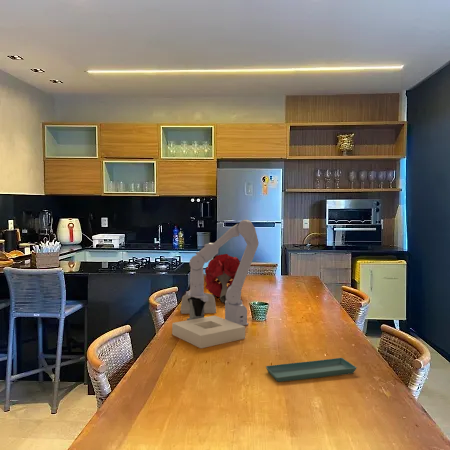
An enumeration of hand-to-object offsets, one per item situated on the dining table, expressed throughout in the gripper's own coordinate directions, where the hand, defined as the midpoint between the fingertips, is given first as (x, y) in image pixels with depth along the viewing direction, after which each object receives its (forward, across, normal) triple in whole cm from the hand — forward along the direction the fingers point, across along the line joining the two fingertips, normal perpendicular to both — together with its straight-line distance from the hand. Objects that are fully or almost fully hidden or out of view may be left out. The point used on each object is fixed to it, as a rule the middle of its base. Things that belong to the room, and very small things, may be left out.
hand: (196, 315), depth 192 cm
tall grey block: (+3, 0, 0) cm, 3 cm away
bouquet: (+3, -34, +39) cm, 51 cm away
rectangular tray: (+4, +67, -2) cm, 67 cm away
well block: (+3, +19, -7) cm, 20 cm away
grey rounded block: (+3, -16, +11) cm, 20 cm away
